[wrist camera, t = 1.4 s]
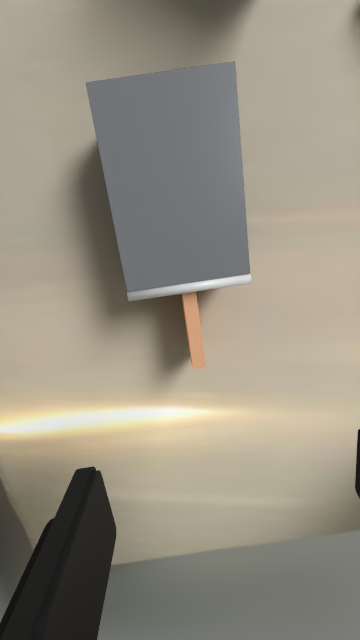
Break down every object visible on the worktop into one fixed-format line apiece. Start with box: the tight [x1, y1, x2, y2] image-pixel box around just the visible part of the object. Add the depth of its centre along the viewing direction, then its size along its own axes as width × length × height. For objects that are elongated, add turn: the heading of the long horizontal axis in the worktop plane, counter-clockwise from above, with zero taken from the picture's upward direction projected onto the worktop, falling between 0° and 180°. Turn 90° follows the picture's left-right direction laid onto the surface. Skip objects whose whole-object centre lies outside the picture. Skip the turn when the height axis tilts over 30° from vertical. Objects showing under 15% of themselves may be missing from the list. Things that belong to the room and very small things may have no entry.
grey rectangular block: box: [86, 61, 251, 301], centre depth 20 cm, size 10×15×6 cm
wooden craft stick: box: [181, 292, 206, 369], centre depth 21 cm, size 1×19×4 cm, turn 8°
